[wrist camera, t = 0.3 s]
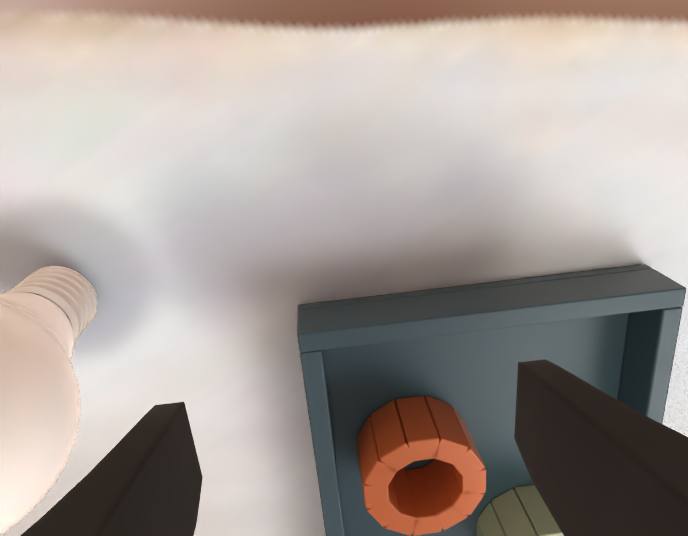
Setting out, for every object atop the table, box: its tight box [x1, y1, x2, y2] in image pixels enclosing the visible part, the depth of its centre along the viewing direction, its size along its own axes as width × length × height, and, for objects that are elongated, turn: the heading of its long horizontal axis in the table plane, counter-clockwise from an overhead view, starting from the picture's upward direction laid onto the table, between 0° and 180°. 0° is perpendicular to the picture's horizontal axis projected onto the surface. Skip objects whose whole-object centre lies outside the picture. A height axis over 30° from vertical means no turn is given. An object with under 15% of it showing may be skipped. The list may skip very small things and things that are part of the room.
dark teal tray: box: [297, 264, 686, 536], centre depth 23 cm, size 19×15×2 cm
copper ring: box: [356, 396, 486, 535], centre depth 22 cm, size 5×5×3 cm
